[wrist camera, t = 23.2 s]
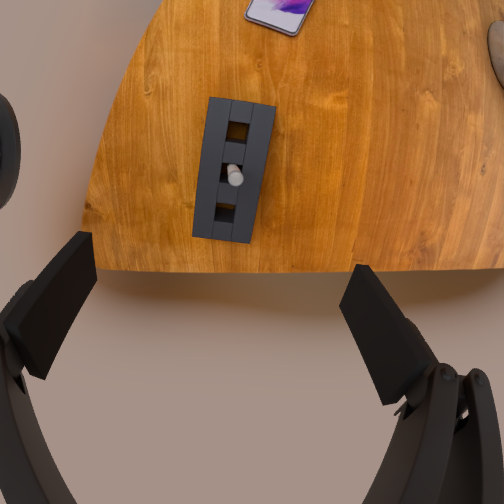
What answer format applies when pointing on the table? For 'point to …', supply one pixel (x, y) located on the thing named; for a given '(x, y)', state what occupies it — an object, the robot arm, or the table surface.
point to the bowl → (497, 48)
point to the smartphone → (279, 14)
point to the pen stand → (216, 183)
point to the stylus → (234, 175)
